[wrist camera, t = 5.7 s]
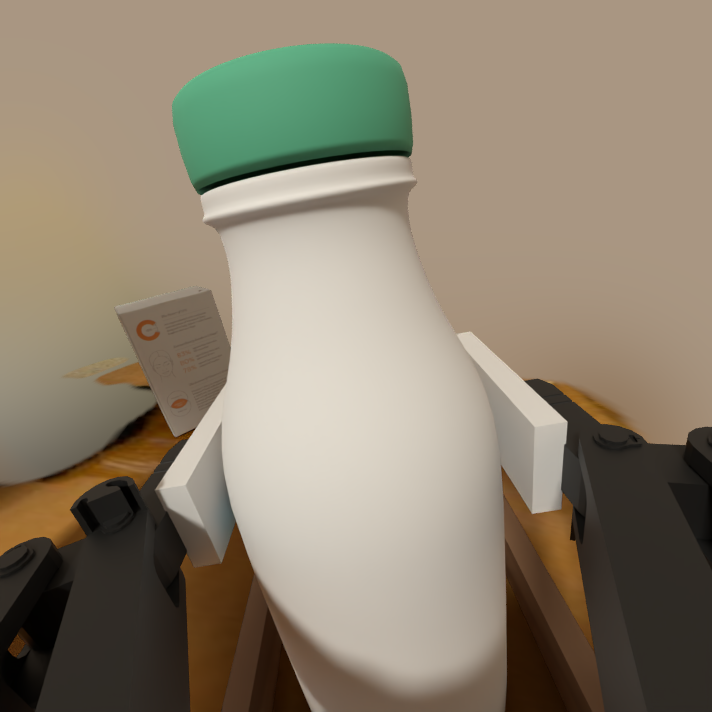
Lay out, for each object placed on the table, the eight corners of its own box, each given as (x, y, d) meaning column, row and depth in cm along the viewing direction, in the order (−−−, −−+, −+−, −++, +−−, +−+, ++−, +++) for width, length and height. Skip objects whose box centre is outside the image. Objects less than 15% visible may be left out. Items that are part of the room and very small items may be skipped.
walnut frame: (192, 1017, 9) (152, 997, 8) (278, 550, 21) (267, 519, 20) (722, 953, 8) (750, 924, 7) (497, 515, 20) (496, 482, 19)
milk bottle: (546, 669, 14) (588, 13, 6) (412, 909, 10) (21, -202, 2) (402, 548, 20) (332, 135, 12) (281, 664, 15) (53, 147, 8)
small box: (231, 388, 44) (195, 284, 39) (250, 404, 39) (212, 288, 34) (162, 417, 39) (112, 305, 34) (173, 439, 35) (117, 313, 30)
